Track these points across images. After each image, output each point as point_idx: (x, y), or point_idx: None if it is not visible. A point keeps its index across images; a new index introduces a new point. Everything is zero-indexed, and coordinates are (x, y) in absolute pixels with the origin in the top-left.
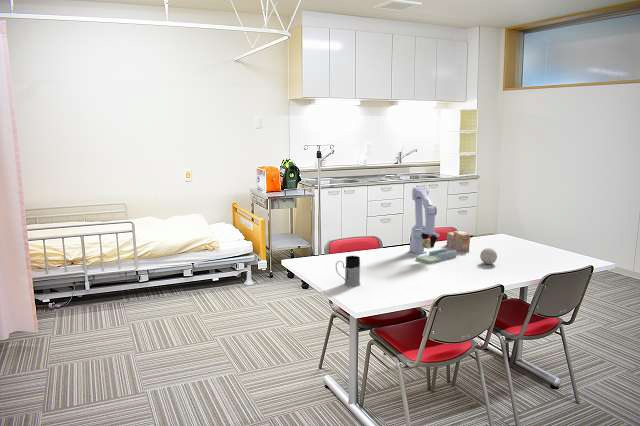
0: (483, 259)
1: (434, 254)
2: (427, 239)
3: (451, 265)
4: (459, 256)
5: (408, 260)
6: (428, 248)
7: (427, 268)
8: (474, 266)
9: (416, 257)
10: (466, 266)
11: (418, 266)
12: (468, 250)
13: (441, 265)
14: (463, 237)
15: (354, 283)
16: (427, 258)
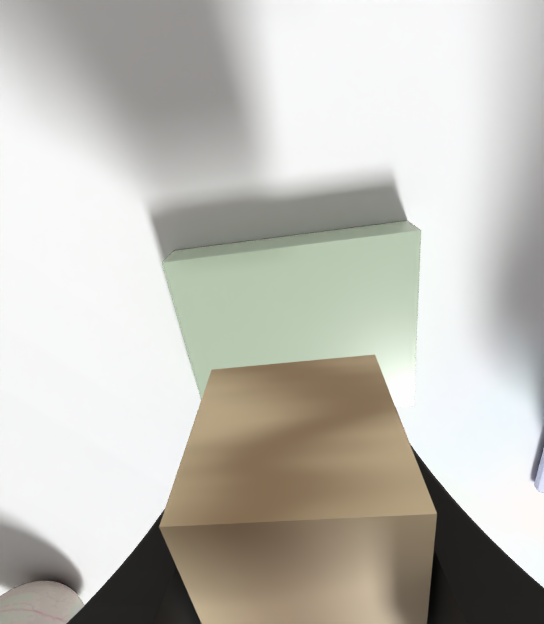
0: (7, 605)
1: None
2: (341, 596)
3: (74, 400)
4: None
5: (455, 105)
6: (213, 379)
7: (5, 86)
8: (12, 506)
9: (408, 229)
10: (21, 469)
11: (127, 23)
12: None
13: (96, 326)
14: None
15: None
16: (280, 313)
